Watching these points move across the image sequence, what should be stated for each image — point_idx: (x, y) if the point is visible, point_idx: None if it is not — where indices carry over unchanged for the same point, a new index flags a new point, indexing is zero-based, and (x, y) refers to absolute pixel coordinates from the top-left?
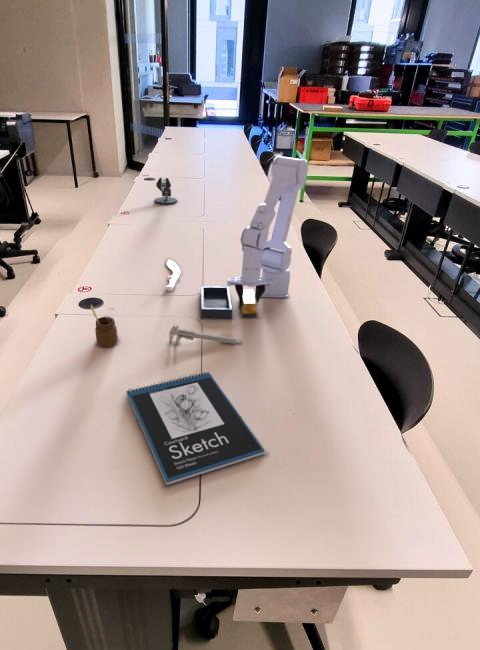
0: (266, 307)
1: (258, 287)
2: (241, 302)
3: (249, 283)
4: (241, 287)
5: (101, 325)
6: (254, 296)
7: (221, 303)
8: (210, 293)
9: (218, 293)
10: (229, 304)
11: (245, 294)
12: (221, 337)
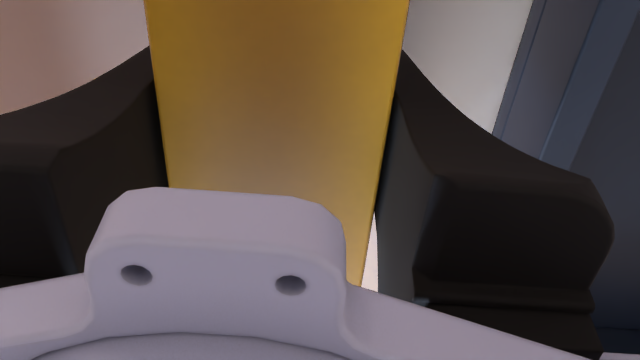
0: (52, 91)
1: (48, 265)
2: (401, 75)
3: (282, 344)
4: (453, 287)
5: None
6: (178, 160)
7: (593, 169)
8: (619, 332)
9: None
10: (629, 18)
11: None
12: None
